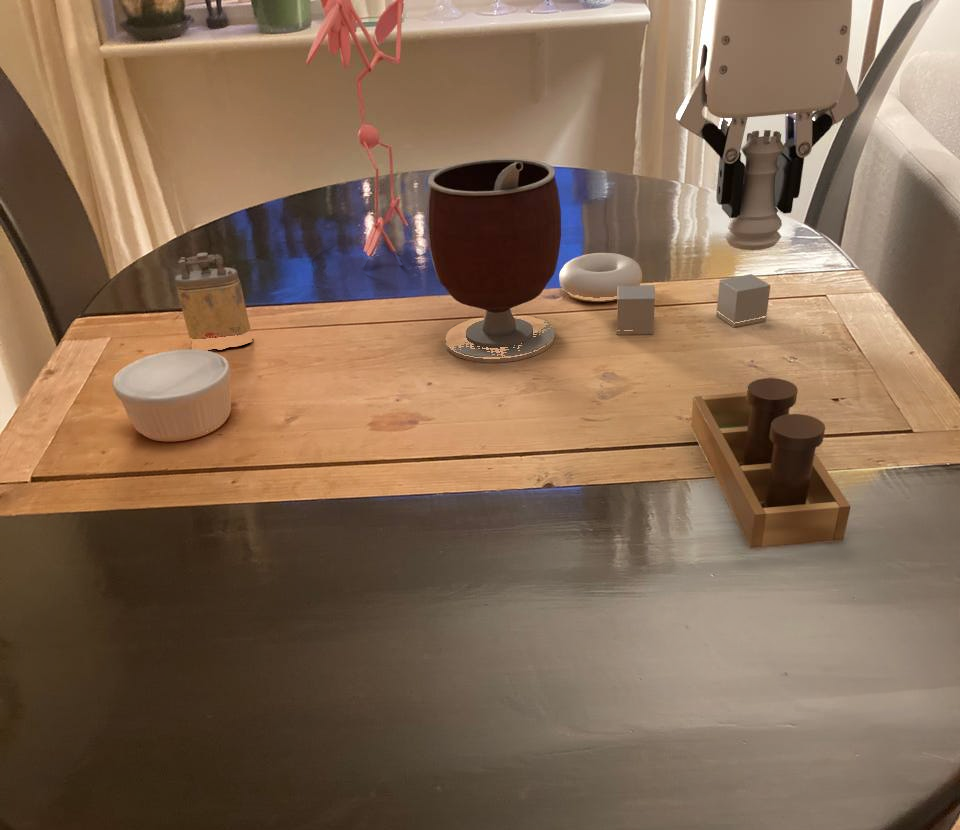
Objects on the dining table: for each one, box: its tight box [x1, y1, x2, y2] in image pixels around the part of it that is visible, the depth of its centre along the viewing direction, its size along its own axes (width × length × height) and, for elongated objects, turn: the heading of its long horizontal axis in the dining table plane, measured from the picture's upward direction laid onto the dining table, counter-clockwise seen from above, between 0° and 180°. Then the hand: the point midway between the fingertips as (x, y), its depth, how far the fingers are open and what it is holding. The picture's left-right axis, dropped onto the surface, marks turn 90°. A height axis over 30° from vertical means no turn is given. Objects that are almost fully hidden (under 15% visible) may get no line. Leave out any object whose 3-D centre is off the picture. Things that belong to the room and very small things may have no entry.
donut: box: [558, 252, 643, 303], centre depth 115 cm, size 10×4×10 cm
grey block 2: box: [715, 273, 771, 328], centre depth 106 cm, size 4×4×4 cm
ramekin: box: [112, 348, 232, 443], centre depth 94 cm, size 11×11×5 cm
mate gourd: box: [425, 157, 562, 364], centre depth 99 cm, size 16×14×20 cm
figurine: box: [305, 0, 409, 257], centre depth 121 cm, size 15×26×35 cm, turn 170°
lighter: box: [174, 252, 251, 339], centre depth 107 cm, size 7×4×10 cm, turn 99°
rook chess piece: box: [724, 129, 785, 251], centre depth 75 cm, size 4×4×8 cm
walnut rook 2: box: [761, 413, 826, 508], centre depth 72 cm, size 4×4×8 cm
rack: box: [690, 391, 851, 549], centre depth 79 cm, size 7×20×4 cm, turn 3°
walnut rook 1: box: [739, 377, 799, 466], centre depth 77 cm, size 4×4×8 cm
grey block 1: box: [616, 284, 656, 336], centre depth 105 cm, size 4×4×4 cm
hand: (755, 208), depth 76 cm, fingers closed on rook chess piece, 3 cm apart
